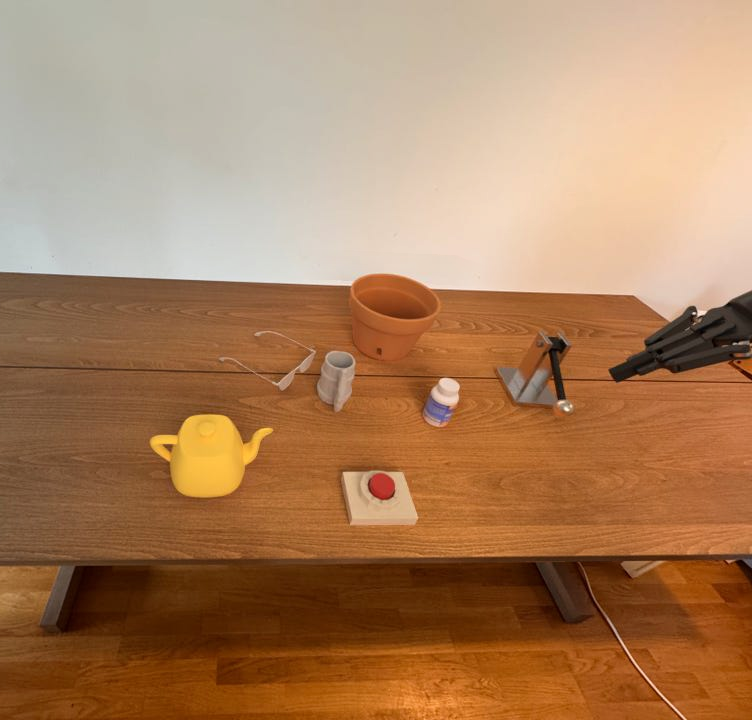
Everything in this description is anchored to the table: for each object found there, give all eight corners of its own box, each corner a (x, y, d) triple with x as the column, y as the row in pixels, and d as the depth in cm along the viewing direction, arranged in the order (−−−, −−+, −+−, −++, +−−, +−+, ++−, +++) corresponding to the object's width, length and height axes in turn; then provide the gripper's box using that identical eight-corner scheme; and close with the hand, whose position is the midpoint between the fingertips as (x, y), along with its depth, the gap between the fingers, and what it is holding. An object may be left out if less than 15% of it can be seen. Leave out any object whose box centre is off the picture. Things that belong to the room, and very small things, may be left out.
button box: (399, 478, 77) (405, 465, 74) (414, 525, 70) (421, 512, 67) (340, 478, 76) (344, 465, 73) (349, 525, 69) (354, 512, 66)
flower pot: (437, 346, 109) (457, 296, 100) (396, 383, 97) (413, 331, 88) (369, 312, 120) (381, 265, 111) (324, 342, 108) (333, 292, 98)
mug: (348, 383, 96) (358, 341, 88) (354, 421, 87) (366, 378, 79) (315, 381, 96) (322, 339, 88) (317, 419, 87) (325, 376, 79)
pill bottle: (444, 431, 86) (460, 397, 80) (418, 420, 88) (432, 386, 82) (450, 415, 90) (466, 382, 84) (425, 405, 92) (439, 371, 86)
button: (389, 478, 72) (391, 472, 71) (395, 499, 69) (398, 493, 68) (366, 478, 72) (368, 472, 71) (371, 499, 69) (374, 493, 68)
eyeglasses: (277, 397, 91) (278, 383, 89) (216, 361, 99) (215, 348, 97) (315, 362, 101) (317, 349, 99) (256, 333, 109) (257, 320, 106)
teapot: (271, 505, 71) (276, 460, 63) (150, 509, 69) (140, 463, 61) (266, 443, 81) (270, 397, 73) (161, 445, 79) (153, 398, 72)
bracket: (558, 409, 93) (594, 357, 84) (513, 405, 93) (544, 354, 84) (534, 373, 103) (565, 323, 93) (494, 370, 103) (520, 320, 93)
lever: (568, 419, 86) (580, 415, 82) (550, 418, 86) (562, 413, 82) (553, 343, 92) (564, 336, 89) (536, 341, 92) (547, 334, 89)
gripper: (815, 345, 64) (640, 412, 75) (744, 300, 74) (599, 365, 85) (811, 313, 61) (628, 388, 71) (737, 271, 71) (586, 342, 81)
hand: (612, 376), depth 78 cm, fingers closed
